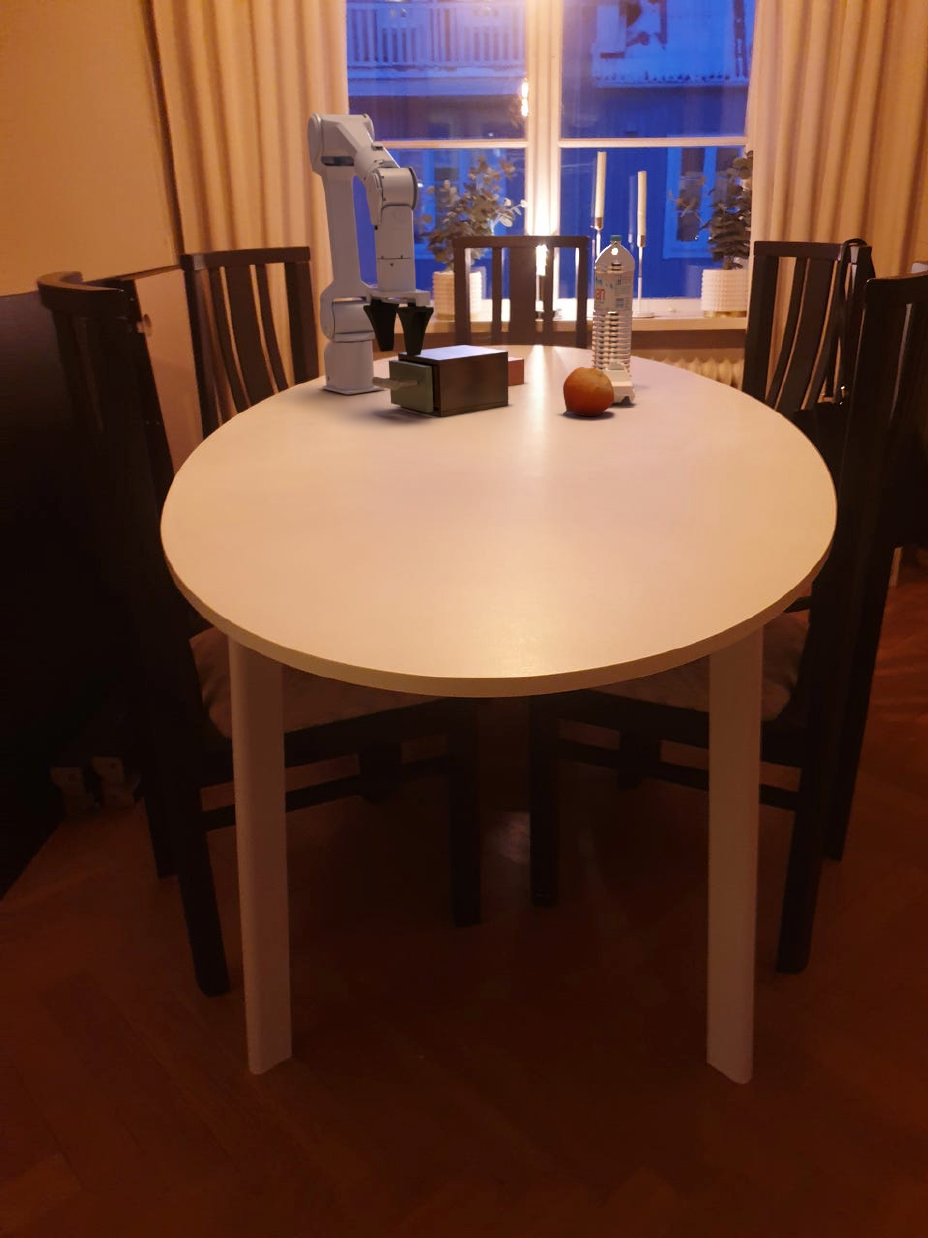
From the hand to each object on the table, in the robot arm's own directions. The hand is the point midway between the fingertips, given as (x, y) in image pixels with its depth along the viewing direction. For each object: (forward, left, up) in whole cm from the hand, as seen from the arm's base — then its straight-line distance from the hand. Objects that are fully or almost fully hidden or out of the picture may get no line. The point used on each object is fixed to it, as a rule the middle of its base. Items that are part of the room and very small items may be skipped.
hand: (400, 353), depth 139 cm
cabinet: (0, +10, -9) cm, 14 cm away
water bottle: (+5, +41, -10) cm, 43 cm away
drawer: (0, +5, -9) cm, 10 cm away
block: (-11, +31, -9) cm, 34 cm away
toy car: (+15, +32, -10) cm, 37 cm away
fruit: (+20, +21, -10) cm, 31 cm away
